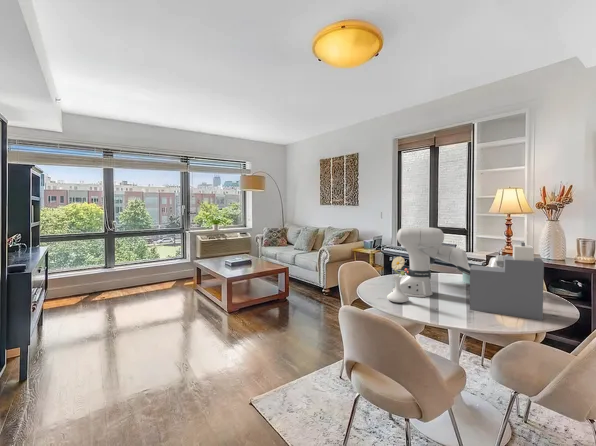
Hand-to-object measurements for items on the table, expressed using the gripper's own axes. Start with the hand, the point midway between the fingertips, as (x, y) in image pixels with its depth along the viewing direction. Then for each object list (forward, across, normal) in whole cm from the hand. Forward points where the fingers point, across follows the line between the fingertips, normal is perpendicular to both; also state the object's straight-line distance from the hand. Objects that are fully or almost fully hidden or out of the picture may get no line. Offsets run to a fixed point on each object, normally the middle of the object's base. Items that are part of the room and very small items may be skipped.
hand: (519, 256), depth 157 cm
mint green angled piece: (-40, +20, -5) cm, 44 cm away
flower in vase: (+16, +55, -37) cm, 68 cm away
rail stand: (+7, +8, -32) cm, 34 cm away
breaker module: (+17, 0, -7) cm, 18 cm away
